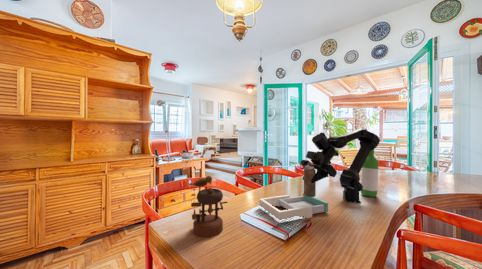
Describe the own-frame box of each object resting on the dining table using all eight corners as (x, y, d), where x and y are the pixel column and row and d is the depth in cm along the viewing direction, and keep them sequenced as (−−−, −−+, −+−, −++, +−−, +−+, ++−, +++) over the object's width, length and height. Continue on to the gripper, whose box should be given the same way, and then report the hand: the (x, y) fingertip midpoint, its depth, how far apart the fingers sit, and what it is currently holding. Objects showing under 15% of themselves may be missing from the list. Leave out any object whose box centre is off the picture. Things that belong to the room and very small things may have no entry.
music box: (195, 243, 62) (193, 179, 63) (185, 231, 71) (183, 176, 72) (236, 230, 70) (233, 174, 71) (222, 221, 79) (220, 171, 81)
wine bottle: (380, 196, 107) (383, 142, 108) (370, 197, 104) (373, 142, 105) (366, 192, 115) (369, 142, 115) (357, 193, 112) (360, 141, 112)
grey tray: (304, 200, 99) (304, 193, 99) (328, 211, 85) (328, 202, 85) (277, 205, 94) (277, 196, 93) (298, 217, 79) (298, 208, 79)
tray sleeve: (288, 203, 97) (288, 194, 97) (312, 217, 81) (312, 206, 81) (259, 208, 91) (259, 198, 91) (279, 223, 75) (279, 212, 75)
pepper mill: (316, 194, 92) (317, 166, 91) (313, 197, 87) (313, 167, 87) (306, 192, 95) (306, 165, 95) (302, 195, 91) (302, 166, 91)
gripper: (303, 144, 101) (285, 166, 97) (332, 146, 84) (311, 173, 80) (314, 158, 104) (298, 181, 100) (345, 163, 87) (326, 190, 83)
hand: (307, 181), depth 91 cm, fingers closed on pepper mill, 5 cm apart
